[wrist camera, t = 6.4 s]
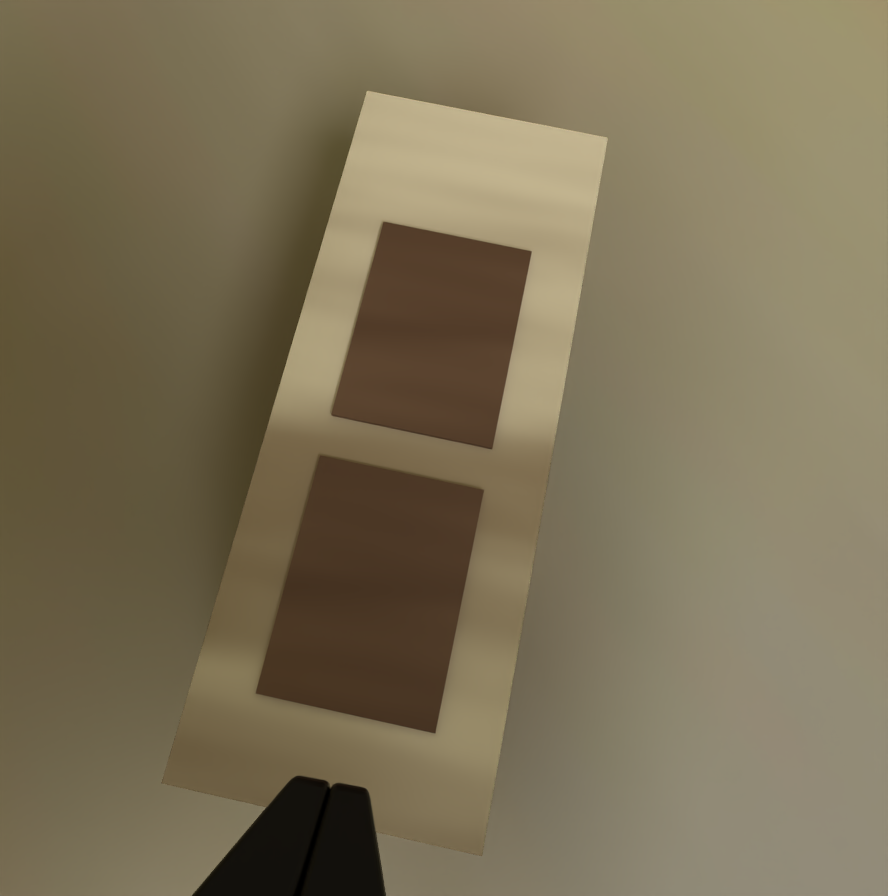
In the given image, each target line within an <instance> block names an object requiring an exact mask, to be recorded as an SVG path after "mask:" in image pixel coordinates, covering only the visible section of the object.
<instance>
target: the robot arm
mask: <svg viewBox="0 0 888 896" xmlns="http://www.w3.org/2000/svg"><path fill="white" fill-rule="evenodd" d="M192 896H386V892H385V886H384V880H383V873H382V867H381V861H380V855H379V848H378V842H377V836H376V829H375V823H374V817H373V810H372V804H371V798H370V794H369V792H368V790H367V789H366V788H364V787H360V786H355V785H349V784H344V783H335V784H333V785H332V786H331V787H330V783H329V782H328V781H326V780H322V779H317V778H311V777H306V776H295V777H293V778H292V779H291V780H290V781H289V782H288V783H287V784H286V785H285V786H284V787H283V788H282V790H281V791H280V792H279V793H278V794H277V796H276V797H275V798H274V799H273V800H272V801H271V803H270V804H269V805H268V806H267V807H266V809H265V810H264V811H263V812H262V813H261V814H260V816H259V817H258V818H257V819H256V820H255V822H254V823H253V824H252V825H251V826H250V827H249V829H248V830H247V831H246V832H245V833H244V835H243V836H242V837H241V838H240V839H239V840H238V842H237V843H236V844H235V845H234V846H233V848H232V849H231V850H230V851H229V852H228V853H227V855H226V856H225V857H224V858H223V859H222V861H221V862H220V863H219V864H218V865H217V866H216V868H215V869H214V870H213V871H212V872H211V874H210V875H209V876H208V877H207V878H206V879H205V881H204V882H203V883H202V884H201V885H200V887H199V888H198V889H197V890H196V891H195V892H194V894H193V895H192Z"/></svg>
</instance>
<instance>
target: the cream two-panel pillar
mask: <svg viewBox="0 0 888 896" xmlns="http://www.w3.org/2000/svg"><path fill="white" fill-rule="evenodd" d="M607 140H608V138H607V137H602V136H597V135H591V134H586V133H581V132H576V131H571V130H566V129H561V128H556V127H550V126H545V125H540V124H535V123H530V122H525V121H520V120H515V119H509V118H504V117H499V116H494V115H489V114H484V113H479V112H474V111H469V110H463V109H458V108H453V107H448V106H443V105H438V104H433V103H428V102H422V101H417V100H412V99H407V98H402V97H397V96H392V95H387V94H381V93H376V92H371V91H367V93H366V96H365V99H364V103H363V106H362V110H361V113H360V116H359V120H358V123H357V126H356V130H355V133H354V137H353V140H352V143H351V147H350V150H349V153H348V157H347V160H346V163H345V167H344V170H343V174H342V177H341V180H340V184H339V187H338V190H337V194H336V197H335V200H334V204H333V207H332V211H331V214H330V217H329V221H328V224H327V227H326V231H325V234H324V238H323V241H322V244H321V248H320V251H319V254H318V258H317V261H316V264H315V268H314V271H313V275H312V278H311V281H310V285H309V288H308V291H307V295H306V298H305V301H304V305H303V308H302V312H301V315H300V318H299V322H298V325H297V328H296V332H295V335H294V338H293V342H292V345H291V349H290V352H289V355H288V359H287V362H286V365H285V369H284V372H283V376H282V379H281V382H280V386H279V389H278V392H277V396H276V399H275V402H274V406H273V409H272V413H271V416H270V419H269V423H268V426H267V429H266V433H265V436H264V439H263V443H262V446H261V450H260V453H259V456H258V460H257V463H256V466H255V470H254V473H253V477H252V480H251V483H250V487H249V490H248V493H247V497H246V500H245V503H244V507H243V510H242V514H241V517H240V520H239V524H238V527H237V530H236V534H235V537H234V540H233V544H232V547H231V551H230V554H229V557H228V561H227V564H226V567H225V571H224V574H223V578H222V581H221V584H220V588H219V591H218V594H217V598H216V601H215V604H214V608H213V611H212V615H211V618H210V621H209V625H208V628H207V631H206V635H205V638H204V641H203V645H202V648H201V652H200V655H199V658H198V662H197V665H196V668H195V672H194V675H193V678H192V682H191V685H190V689H189V692H188V695H187V699H186V702H185V705H184V709H183V712H182V716H181V719H180V722H179V726H178V729H177V732H176V736H175V739H174V742H173V746H172V749H171V753H170V756H169V759H168V763H167V766H166V769H165V773H164V776H163V779H162V783H163V784H167V785H171V786H176V787H180V788H184V789H189V790H193V791H198V792H202V793H206V794H211V795H215V796H220V797H224V798H228V799H233V800H237V801H242V802H246V803H250V804H255V805H259V806H264V807H267V806H268V805H269V804H270V803H271V801H272V800H273V799H274V798H275V797H276V796H277V794H278V793H279V792H280V791H281V790H282V788H283V787H284V786H285V785H286V784H287V783H288V782H289V781H290V780H291V779H292V778H293V777H295V776H306V777H311V778H317V779H322V780H326V781H328V782H329V783H330V787H331V786H332V785H333V784H335V783H344V784H349V785H355V786H360V787H364V788H366V789H367V790H368V792H369V794H370V798H371V804H372V810H373V817H374V823H375V829H376V832H378V833H382V834H387V835H391V836H395V837H400V838H404V839H409V840H413V841H417V842H422V843H426V844H431V845H435V846H439V847H444V848H448V849H453V850H457V851H461V852H466V853H470V854H475V855H479V856H482V854H483V848H484V842H485V836H486V831H487V825H488V819H489V814H490V808H491V802H492V796H493V791H494V785H495V779H496V774H497V768H498V762H499V756H500V751H501V745H502V739H503V734H504V728H505V722H506V716H507V711H508V705H509V699H510V694H511V688H512V682H513V676H514V671H515V665H516V659H517V654H518V648H519V642H520V636H521V631H522V625H523V619H524V614H525V608H526V602H527V597H528V591H529V585H530V579H531V574H532V568H533V562H534V557H535V551H536V545H537V539H538V534H539V528H540V522H541V517H542V511H543V505H544V499H545V494H546V488H547V482H548V477H549V471H550V465H551V459H552V454H553V448H554V442H555V437H556V431H557V425H558V419H559V414H560V408H561V402H562V397H563V391H564V385H565V379H566V374H567V368H568V362H569V357H570V351H571V345H572V339H573V334H574V328H575V322H576V317H577V311H578V305H579V299H580V294H581V288H582V282H583V277H584V271H585V265H586V259H587V254H588V248H589V242H590V237H591V231H592V225H593V219H594V214H595V208H596V202H597V197H598V191H599V185H600V180H601V174H602V168H603V162H604V157H605V151H606V145H607Z"/></svg>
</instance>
